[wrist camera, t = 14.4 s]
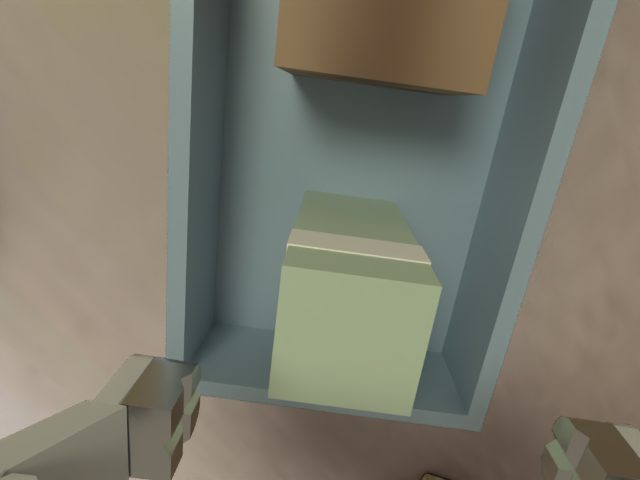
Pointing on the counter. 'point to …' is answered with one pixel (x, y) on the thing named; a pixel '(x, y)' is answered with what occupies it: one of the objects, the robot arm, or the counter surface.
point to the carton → (352, 307)
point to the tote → (364, 188)
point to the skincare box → (431, 477)
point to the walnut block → (392, 42)
